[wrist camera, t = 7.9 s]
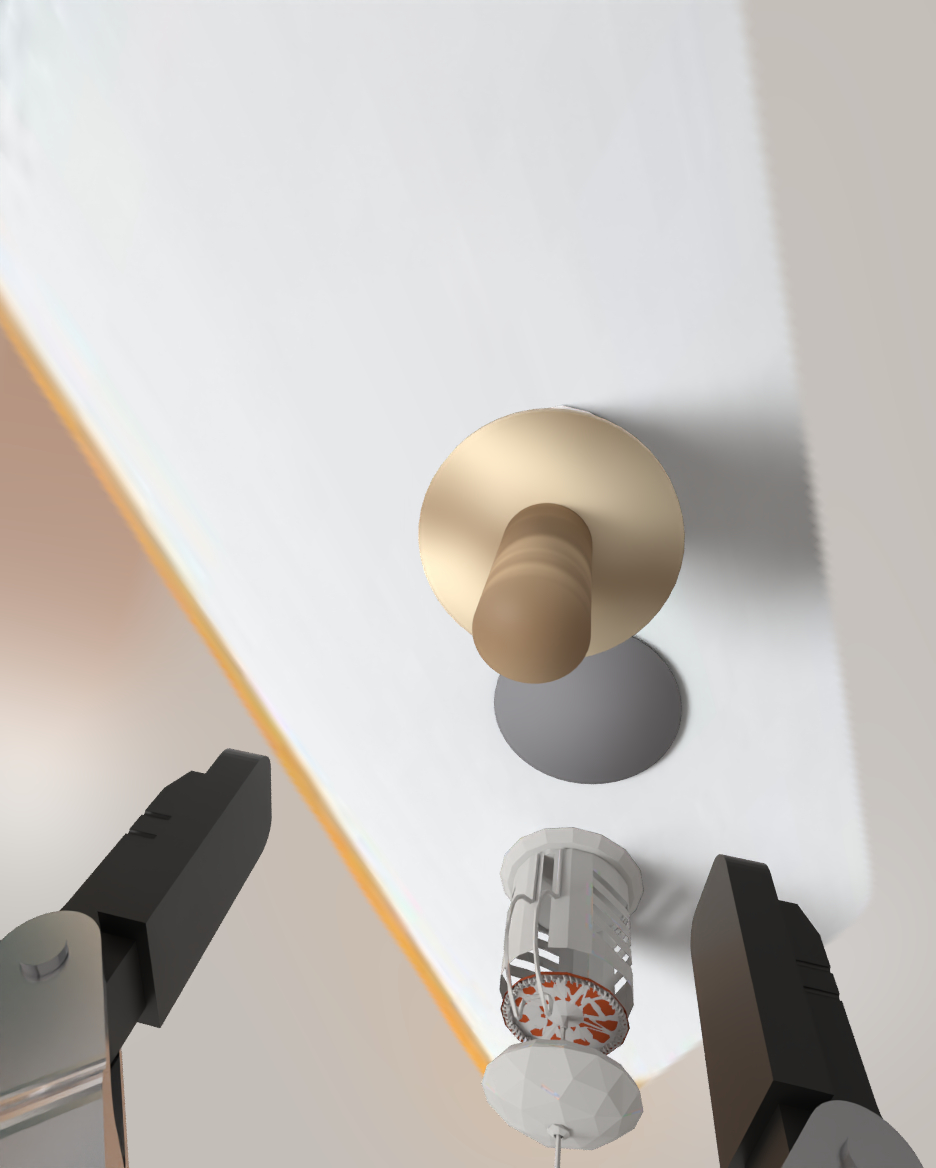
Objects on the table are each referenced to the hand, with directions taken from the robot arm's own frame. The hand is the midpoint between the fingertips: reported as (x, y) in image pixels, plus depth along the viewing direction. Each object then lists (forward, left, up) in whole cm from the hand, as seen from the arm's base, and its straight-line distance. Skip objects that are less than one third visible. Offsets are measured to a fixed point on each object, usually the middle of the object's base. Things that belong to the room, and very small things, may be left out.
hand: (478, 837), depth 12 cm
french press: (+28, +5, -26) cm, 38 cm away
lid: (0, 0, -16) cm, 16 cm away
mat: (+14, +4, -26) cm, 30 cm away
